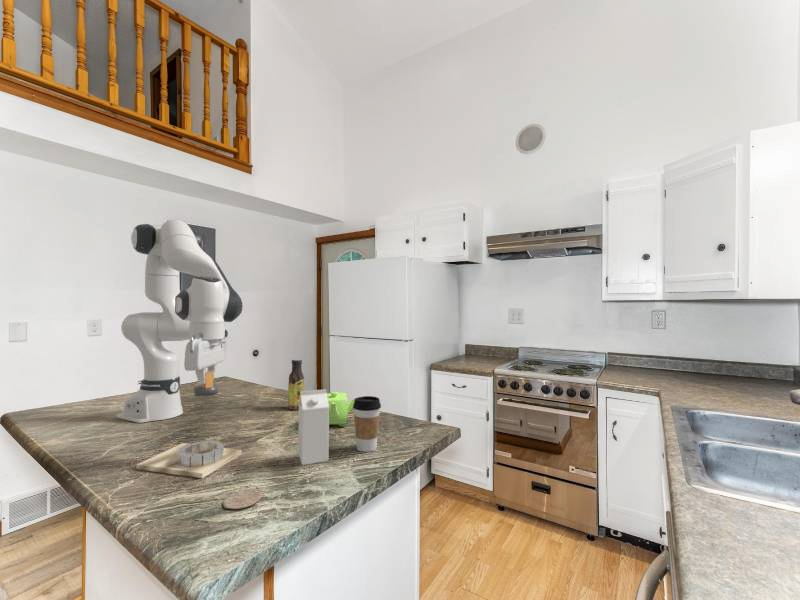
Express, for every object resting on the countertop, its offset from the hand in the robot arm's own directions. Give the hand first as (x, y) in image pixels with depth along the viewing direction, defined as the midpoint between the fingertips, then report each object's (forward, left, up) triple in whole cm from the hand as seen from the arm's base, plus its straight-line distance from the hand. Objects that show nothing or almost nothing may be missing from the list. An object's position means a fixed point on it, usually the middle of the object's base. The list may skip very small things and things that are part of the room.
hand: (206, 382), depth 106 cm
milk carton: (+30, +6, -21) cm, 37 cm away
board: (-1, -4, -21) cm, 21 cm away
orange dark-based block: (0, 0, -3) cm, 3 cm away
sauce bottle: (+1, +49, -21) cm, 53 cm away
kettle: (+23, +35, -21) cm, 47 cm away
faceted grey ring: (+2, -4, -19) cm, 20 cm away
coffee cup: (+42, +17, -21) cm, 50 cm away
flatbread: (+25, -18, -21) cm, 38 cm away
